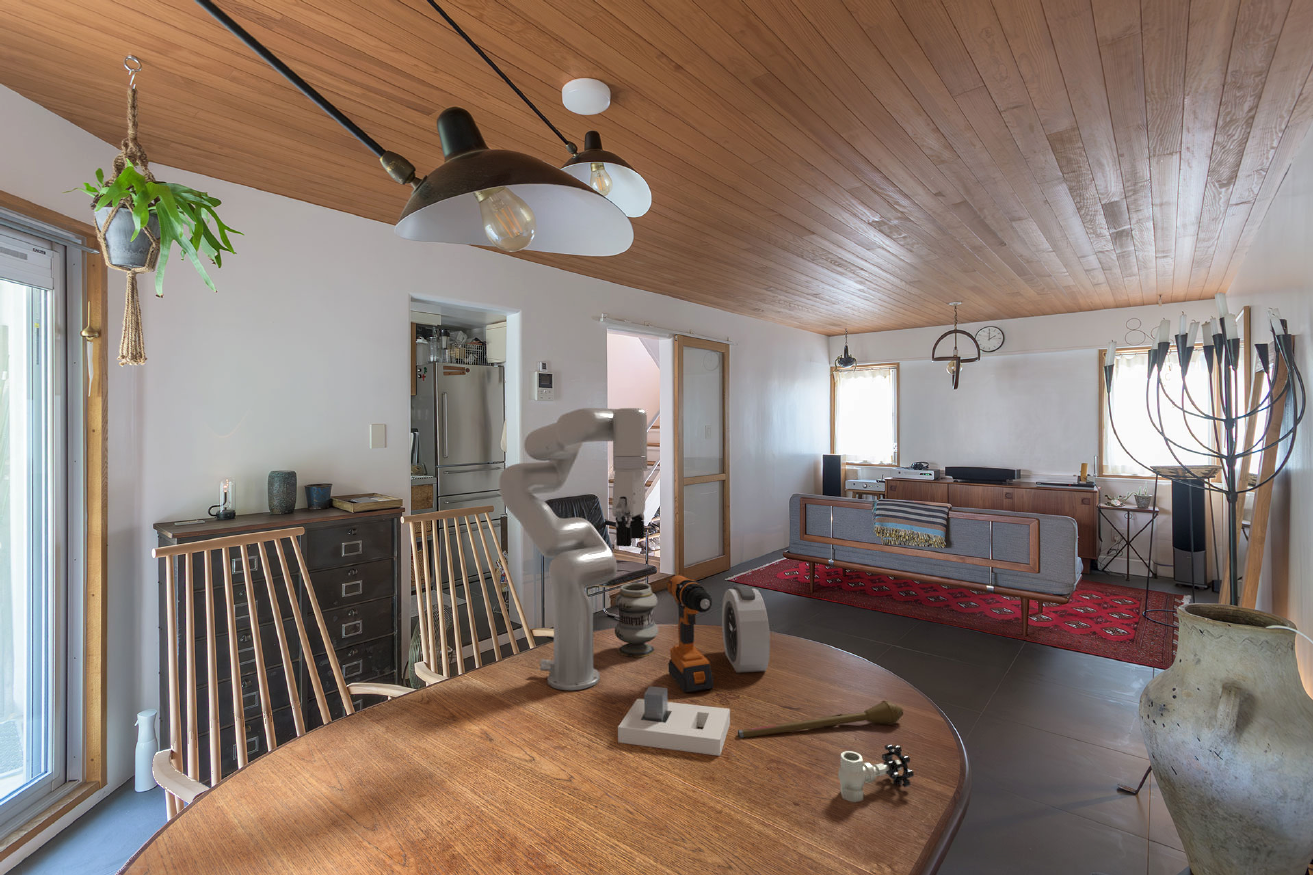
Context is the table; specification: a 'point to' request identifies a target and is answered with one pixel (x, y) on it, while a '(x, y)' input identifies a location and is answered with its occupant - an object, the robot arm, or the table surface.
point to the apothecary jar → (636, 619)
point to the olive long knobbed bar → (833, 720)
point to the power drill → (689, 636)
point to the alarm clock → (745, 629)
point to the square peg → (656, 704)
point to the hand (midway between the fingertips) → (630, 541)
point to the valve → (871, 772)
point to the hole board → (677, 728)
